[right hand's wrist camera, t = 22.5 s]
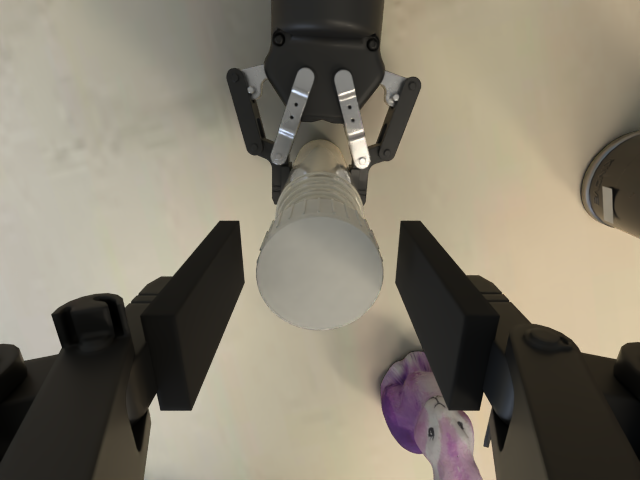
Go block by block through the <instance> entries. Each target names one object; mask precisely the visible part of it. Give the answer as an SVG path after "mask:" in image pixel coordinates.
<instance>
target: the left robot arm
mask: <svg viewBox="0 0 640 480" xmlns="http://www.w3.org/2000/svg"><path fill="white" fill-rule="evenodd" d="M383 9H384V0H271V47H270V50H269V53H268V55H267V57H266V59H265V62H264V64H263V65H259V66H254V67H250V68H246V69H242V70H241V69H237V68H232V69H230V70H229V71H228V73H227V82H228V85H229V89H230V92H231V96H232V99H233V103H234V106H235V110H236V113H237V117H238V120H239V124H240V127H241V131H242V134H243V138H244V141H245V145H246V148H247V151H248V152H249V153H250V154H251V155H258V156H261V157H263V158H265V159H267V160H268V161H269V162H270V163H271V165H272V199H273V201H274V204H277V202H278V200H279V197H280V195H281V192H282V190H283V188H284V185H285V183H286V180H287V178H288V176H289V173H290V171H291V169H292V162H289V155H290V154H289V153H290V151H291V148H292V145H293V142H294V139H295V137H296V134H297V132H298V129H299V126H300V123H301V122H314V121H318V120H325V121H328V122H331V123H340V124H343V127H344V130H345V134H346V137H347V141H348V145H349V149H350V153H351V157H352V165H349V172H350V174H351V176H352V179H353V181H354V183H355V186H356V188H357V191H358V193H359V195H360V198H361V200H362V204H363V206H364V204H365V202H366V191H367V181H368V172H369V169H370V167H371V166H372V165H374V164H376V163H379V162H382V161H390V160H392V159H393V158H394V156H395V153H396V151H397V148H398V146H399V143H400V141H401V138H402V135H403V133H404V130H405V128H406V125H407V122H408V120H409V117H410V115H411V112H412V109H413V107H414V104H415V102H416V99H417V97H418V94H419V91H420V89H421V82H420V80H419V79H418V78H416V77H410V78H405V77H402V76H399V75H397V74H394V73H391V72H388V71H385V66H384V63H383V61H382V58H381V54H380V40H381V30H382V19H383ZM267 79H268V80H269V81H270V83H271V84H272V86H273V88H274V89H275V91H276V92H277V94H278V95H279V97H280V98H281V100H282V101H283V103H284V105H285V106H286V109H285V112H284V115H283V118H282V121H281V124H280V127H279V131H278V134H277V137H276V140H275V142H273V141H271V140H268V139H266V136H265V133H264V129H263V125H262V121H261V117H260V114H259V110H258V106H257V102H256V99H259V98H260V97H261V96H262V93H263V89H262V86H263V83H264V82H265V81H266V80H267ZM379 85H381V86H382V87H383V89H384V102H385V104H386V105H388V106H389V109H388V112H387V115H386V117H385V120H384V123H383V126H382V128H381V131H380V134H379V137H378V139H377V142H376V144H374V145H371V146H368V147H367V143H366V139H365V132H364V127H363V123H362V119H361V114H360V109H361V108H362V107H363V105H364V104H365V103H366V102H367V100H368V99H369V98H370V97H371V95H372V94H373V93H374V91H375V90H376V89H377V88H378V86H379ZM582 201H583V205H584V207H585V209H586V211H587V212H588V214H589V215H590V216H591V217H592V218H593V219H595V220H596V221H598V222H600V223H602V224H605V225H607V226H609V227H613V228H617V229H619V230H621V231H624V232H626V233H628V234H630V235H633V236H635V237H637V238H640V131H635V132H631V133H628V134H626V135H623V136H621V137H619V138H617V139H616V140H614V141H613V142H611V143H610V144H608V145H607V146H606V147H605V148H604V149H603V150H601V151H600V153H599V154H598V155H597V156H596V157H595V158H594V160H593V161H592V163H591V164H590V166H589V168H588V169H587V172H586V174H585V176H584V180H583V183H582Z"/></svg>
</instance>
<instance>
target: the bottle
mask: <svg viewBox="0 0 640 480" xmlns="http://www.w3.org/2000/svg"><path fill="white" fill-rule="evenodd" d="M318 198H320V199H330V200H331V199H334V200H335V201H338V202H341V203H343V204H344V203H346V204H347V206H349V207H351V208H352V209H354V210H357V211H358V214H360V216H361V217H362V218H363V219H364V209H363V204H362V200H361V198H360V195H359V193H358V191H357V188H356V186H355V183H354V181H353V179H352V176H351V174H350V172H349V169H348V167H347V164H346V162H345V160H344V157H343V155H342V153H341V151H340V150H339V148H338V147H337V146H336V145H335V144H333V143H332V142H330V141H327V140H322V139H318V140H313V141H310V142H308V143H307V144H305V145H304V146H303V147H302V148H301V149H300V151H299V153H298V155H297V157H296V159H295V162H294V164H293V166H292V169H291V171H290V173H289V176H288V178H287V180H286V183H285V185H284V188H283V190H282V192H281V195H280V197H279V200H278V202H277V207H276V217H275V220H276V219H277V217H278V216H279V215H280V213H281V211H285V210H286V209H287V208H289V207H291V205H292V204H296V203H299V202H302V201H304V199H306V200H310V199H318Z"/></svg>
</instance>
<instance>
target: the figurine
mask: <svg viewBox="0 0 640 480" xmlns="http://www.w3.org/2000/svg"><path fill="white" fill-rule="evenodd" d="M381 404H382V411H383V415H384V417H385V420H386V423H387V425H388V427H389V430H390V432H391V434H392V435H393V436H394V438H395V439H396V441H397V442H398V443H399V444H400V445H401V446H402V447H403V448H405V449H406V450H408V451H410V452H412V453H416V454H424V456H425V457H426V458H427V459H428V461H429V462H430V463H431V465H432V468H433V474H434V480H483V479H482V477H481V475H480V473H479V469H478V467H477V465H476V463H475V461H474V458H473V450H474V431H473V426H472V423H471V421H470V419H469V417H468V416H467V415H466V414H465V412H463V411H449V410H448V408H447V406H446V403H445V401H444V398H443V396H442V394H441V391H440V389H439V386H438V384H437V382H436V379H435V377H434V374H433V372H432V370H431V367H430V365H429V362H428V360H427V358H426V355H425V353H424V352H421V351H420V352H419V351H417V352H411V353H409V354H408V355H407V356H406V357H405V358H404V359H403V360H401V361H397V362H395V363H394V364H392V366H391V367H390V368H389V371H387V373H386V375H385V377H384V379H383V381H382V383H381Z"/></svg>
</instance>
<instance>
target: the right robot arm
mask: <svg viewBox="0 0 640 480" xmlns="http://www.w3.org/2000/svg"><path fill="white" fill-rule="evenodd" d="M244 283H245V281H244V270H243V258H242V247H241V236H240V224H239V221H219V222H218V224H217V225H216V226H215V227H214V228H213V229H212V231H211V232H210V233H209V234H208V235H207V237H206V238H205V239H204V240H203V241H202V243H201V244H200V245H199V246H198V247H197V248H196V250H195V251H194V252H193V253H192V254H191V256H190V257H189V258H188V259H187V260H186V262H185V263H184V264H183V265H182V266H181V267H180V269H179V270H178V271H177V272H176V273H175V275H174V276H173V277H160V278H158V279H156V280H154V281H153V282H151V283H149V284H147V285H146V286H145V287H144V288H143V289H142V291H141V292H140V293H139V295H138V296H136V297H135V298H134V299H133V300H132V301H131V303H129V304H128V305H127V306H126V307H124V302H123V298H121V297H120V296H118V295H116V294H110V293H103V294H93V295H89V296H84V297H81V298H78V299H75V300H72V301H70V302H68V303H66V304H64V305H62V306H61V307H59V308H58V309H57V310H56V311H55V312H53V313H52V314H51V315H52V318H53V321H54V324H55V328H56V331H57V334H58V337H59V340H60V343H61V346H62V349H61V351H60V352H59V354H57V355H52V356H47V357H42V358H37V359H32V360H27V361H24V360H23V357H22V355H21V352H20V349H19V348H18V347H16V346H15V345H11V344H0V480H144V473H145V465H146V458H147V450H148V443H149V435H150V428H151V419H150V413H149V409H148V407H149V406H150V404H151V402H152V400H153V398H154V397H155V395H156V393H157V397H158V401H159V406H160V410H161V411H191V410H192V408H193V406H194V403H195V401H196V398H197V396H198V394H199V391H200V389H201V386H202V384H203V382H204V379H205V377H206V374H207V372H208V370H209V367H210V365H211V362H212V360H213V358H214V355H215V353H216V350H217V348H218V346H219V343H220V341H221V338H222V336H223V334H224V331H225V329H226V326H227V324H228V322H229V319H230V317H231V314H232V312H233V310H234V307H235V305H236V302H237V300H238V298H239V295H240V293H241V290H242V288H243V286H244ZM395 283H396V286H397V288H398V290H399V293H400V295H401V298H402V300H403V302H404V305H405V307H406V310H407V312H408V314H409V317H410V319H411V322H412V324H413V326H414V329H415V331H416V334H417V336H418V338H419V341H420V343H421V346H422V348H423V350H424V353H425V355H426V358H427V360H428V362H429V365H430V367H431V370H432V372H433V374H434V377H435V379H436V382H437V384H438V386H439V389H440V391H441V394H442V396H443V398H444V401H445V403H446V406H447V408H448V410H449V411H479V410H480V406H481V401H482V397H483V392H484V393H485V395H486V397H487V398H488V400H489V402H490V404H491V405H492V409H491V413H490V418H489V422H488V426H487V431H486V435H485V439H484V447H488V448H489V444H490V440H491V442H492V449H493V457H494V464H495V472H496V479H497V480H640V342H634V343H627V344H625V345H623V346H622V347H621V349H620V352H619V355H618V357H617V359H612V358H607V357H601V356H596V355H591V354H586V353H582V352H580V350H579V348H578V347H577V345H576V344H575V343H574V342H573V341H572V340H571V339H570V338H568V337H567V336H565V335H564V334H562V333H561V332H558V331H556V330H554V329H551V328H549V327H545V326H541V325H537V324H531V323H530V322H529V320H528V319H527V318H526V317H525V316H524V315H523V314H522V313H521V312H520V311H519V310H518V309H517V308H516V307H515V306H514V305H513V304H512V303H511V302H509V300H508V298H507V297H506V296H505V295H504V294H502V292H501V291H500V290H499V289H498V288H497V287H496V286H495V285H494V284H493V283H492V282H490V281H488V280H486V279H485V278H483V277H481V276H479V275H465V273H464V272H463V271H462V270H461V269H460V267H459V266H458V265H457V264H456V263H455V262H454V260H453V259H452V258H451V257H450V256H449V254H448V253H447V252H446V251H445V250H444V248H443V247H442V246H441V245H440V244H439V243H438V241H437V240H436V239H435V238H434V237H433V235H432V234H431V233H430V232H429V231H428V229H427V228H426V227H425V226H424V225H423V224H422V222H421V221H401V224H400V236H399V247H398V258H397V270H396V281H395Z"/></svg>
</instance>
